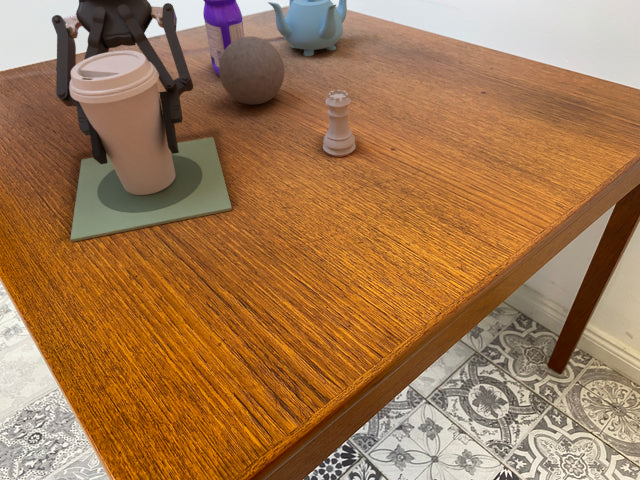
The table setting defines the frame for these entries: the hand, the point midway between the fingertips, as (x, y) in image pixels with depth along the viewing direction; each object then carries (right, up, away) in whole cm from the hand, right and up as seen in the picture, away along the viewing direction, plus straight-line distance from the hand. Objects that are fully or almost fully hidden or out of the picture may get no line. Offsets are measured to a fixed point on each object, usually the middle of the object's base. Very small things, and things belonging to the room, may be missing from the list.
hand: (137, 155), depth 59 cm
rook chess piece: (+23, +2, +11) cm, 26 cm away
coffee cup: (-1, -2, +7) cm, 7 cm away
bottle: (+5, +20, +33) cm, 39 cm away
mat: (-1, -3, +7) cm, 7 cm away
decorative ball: (+11, +12, +24) cm, 29 cm away
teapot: (+20, +28, +42) cm, 54 cm away
